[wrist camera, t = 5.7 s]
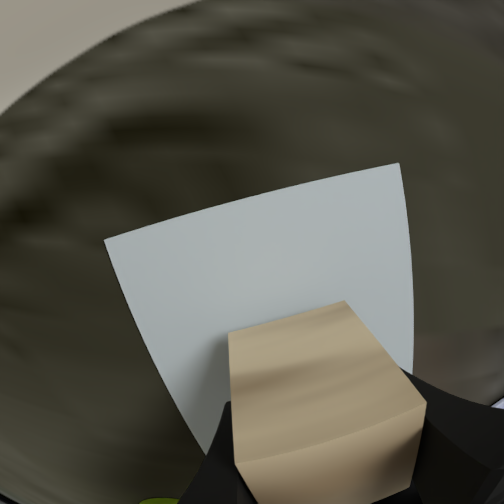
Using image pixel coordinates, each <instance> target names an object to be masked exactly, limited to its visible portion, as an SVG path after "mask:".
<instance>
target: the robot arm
mask: <svg viewBox="0 0 504 504" xmlns="http://www.w3.org/2000/svg"><path fill="white" fill-rule="evenodd" d="M399 368H400V367H399ZM400 369H401V370H402V371H403V373H404V374H405V375H406V376H407V378H408V379H409V380H410V382H411V383H412V384H413V385H414V387H415V388H416V389H417V390H418V392H419V393H420V394H421V396H422V397H423V398H424V399H425V401H426V402H427V404H426V410H425V417H424V423H423V428H422V434H421V439H420V444H419V449H418V453H417V458H416V462H415V467H414V471H413V475H412V479H413V481H414V484H415V486H416V488H417V490H418V493H419V495H420V498H421V500H422V503H423V504H504V398H503V399H501V400H500V401H498V402H497V403H495V404H494V405H492V406H486V405H482V404H478V403H475V402H471V401H468V400H465V399H462V398H459V397H457V396H454V395H451V394H449V393H447V392H444V391H442V390H440V389H438V388H436V387H434V386H432V385H430V384H428V383H426V382H424V381H423V380H421V379H419V378H417V377H415V376H414V375H412V374H410V373H408V372H407V371H405V370H404V369H402V368H400ZM177 504H258V502H257V501H256V499H255V497H254V496H253V494H252V492H251V491H250V489H249V487H248V486H247V484H246V482H245V481H244V479H243V477H242V476H241V474H240V472H239V470H238V469H237V467H236V465H235V459H234V443H233V426H232V408H231V401H227V402H226V403H225V405H224V409H223V412H222V416H221V419H220V422H219V425H218V428H217V431H216V433H215V436H214V438H213V441H212V443H211V446H210V448H209V450H208V452H207V454H206V457H205V459H204V461H203V463H202V465H201V467H200V469H199V470H198V472H197V474H196V476H195V478H194V479H193V481H192V482H191V484H190V486H189V487H188V489H187V490H186V492H185V493H184V494H183V496H182V497H181V498H180V500H179V501H178V503H177Z"/></svg>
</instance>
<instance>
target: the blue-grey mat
mask: <svg viewBox="0 0 504 504" xmlns="http://www.w3.org/2000/svg"><path fill="white" fill-rule="evenodd" d="M104 242H105V245H106V248H107V251H108V253H109V256H110V259H111V262H112V265H113V267H114V270H115V273H116V275H117V278H118V280H119V283H120V286H121V288H122V291H123V293H124V296H125V298H126V301H127V303H128V305H129V308H130V310H131V313H132V315H133V317H134V320H135V322H136V324H137V326H138V329H139V331H140V333H141V335H142V338H143V340H144V342H145V344H146V346H147V348H148V351H149V353H150V355H151V357H152V359H153V361H154V363H155V365H156V367H157V369H158V371H159V373H160V375H161V377H162V379H163V381H164V383H165V385H166V387H167V389H168V391H169V393H170V394H171V396H172V398H173V400H174V402H175V404H176V405H177V407H178V409H179V411H180V413H181V414H182V416H183V418H184V420H185V422H186V423H187V425H188V427H189V428H190V430H191V432H192V434H193V435H194V437H195V439H196V440H197V442H198V444H199V445H200V447H201V448H202V450H203V452H204V453H205V455H206V454H207V452H208V450H209V448H210V446H211V443H212V441H213V438H214V436H215V433H216V431H217V428H218V425H219V422H220V419H221V416H222V412H223V409H224V405H225V403H226V402H227V401H231V389H230V368H229V344H228V333H230V332H234V331H237V330H241V329H245V328H249V327H253V326H257V325H261V324H264V323H268V322H272V321H275V320H279V319H283V318H286V317H290V316H293V315H297V314H300V313H304V312H307V311H311V310H314V309H317V308H321V307H324V306H327V305H330V304H334V303H337V302H340V301H343V300H345V302H346V303H347V304H348V305H349V306H350V308H351V309H352V310H353V311H354V312H355V314H356V315H357V316H358V317H359V318H360V320H361V321H362V322H363V323H364V324H365V326H366V327H367V328H368V329H369V330H370V332H371V333H372V334H373V335H374V337H375V338H376V339H377V340H378V341H379V343H380V344H381V345H382V346H383V348H384V349H385V350H386V351H387V353H388V354H389V355H390V356H391V358H392V359H393V360H394V361H395V363H396V364H397V365H398V366H399V367H400V368H402V369H404V370H405V371H407V372H408V373H410V374H412V367H413V334H414V314H413V281H412V264H411V251H410V239H409V229H408V220H407V212H406V204H405V197H404V190H403V184H402V178H401V172H400V166H399V163H396V164H391V165H386V166H381V167H376V168H371V169H366V170H362V171H357V172H352V173H348V174H343V175H339V176H334V177H330V178H325V179H321V180H317V181H312V182H308V183H304V184H300V185H296V186H291V187H287V188H283V189H279V190H275V191H271V192H267V193H263V194H260V195H256V196H252V197H248V198H244V199H240V200H237V201H233V202H229V203H226V204H222V205H218V206H215V207H211V208H207V209H204V210H200V211H197V212H193V213H190V214H186V215H183V216H179V217H176V218H173V219H169V220H166V221H163V222H159V223H156V224H153V225H149V226H146V227H143V228H140V229H136V230H133V231H130V232H127V233H124V234H121V235H117V236H114V237H111V238H108V239H105V240H104Z"/></svg>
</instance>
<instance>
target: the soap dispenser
mask: <svg viewBox="0 0 504 504" xmlns="http://www.w3.org/2000/svg"><path fill="white" fill-rule="evenodd" d="M178 501H179V499H172V498H152V499H147V500H144V501H142V502H140V503H139V504H177V503H178Z"/></svg>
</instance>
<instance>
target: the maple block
mask: <svg viewBox="0 0 504 504" xmlns="http://www.w3.org/2000/svg"><path fill="white" fill-rule="evenodd" d="M228 344H229V368H230V389H231V408H232V426H233V443H234V459H235V465H236V467H237V469H238V470H239V472H240V474H241V476H242V477H243V479H244V481H245V482H246V484H247V486H248V487H249V489H250V491H251V492H252V494H253V496H254V497H255V499H256V501H257V502H258V504H370V503H372V502H375V501H378V500H380V499H383V498H385V497H388V496H390V495H392V494H395V493H397V492H399V491H402V490H404V489H406V488H408V487H409V486H410V482H411V479H412V475H413V471H414V467H415V462H416V458H417V453H418V449H419V444H420V439H421V434H422V428H423V423H424V417H425V410H426V404H427V402H426V401H425V399H424V398H423V397H422V396H421V394H420V393H419V392H418V390H417V389H416V388H415V387H414V385H413V384H412V383H411V382H410V380H409V379H408V378H407V376H406V375H405V374H404V373H403V371H402V370H401V369H400V368H399V366H398V365H397V364H396V363H395V361H394V360H393V359H392V358H391V356H390V355H389V354H388V353H387V351H386V350H385V349H384V348H383V346H382V345H381V344H380V343H379V341H378V340H377V339H376V338H375V337H374V335H373V334H372V333H371V332H370V330H369V329H368V328H367V327H366V326H365V324H364V323H363V322H362V321H361V320H360V318H359V317H358V316H357V315H356V314H355V312H354V311H353V310H352V309H351V308H350V306H349V305H348V304H347V303H346V302H345V300H343V301H340V302H337V303H334V304H330V305H327V306H324V307H321V308H317V309H314V310H311V311H307V312H304V313H300V314H297V315H293V316H290V317H286V318H283V319H279V320H275V321H272V322H268V323H264V324H261V325H257V326H253V327H249V328H245V329H241V330H237V331H234V332H230V333H228Z"/></svg>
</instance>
